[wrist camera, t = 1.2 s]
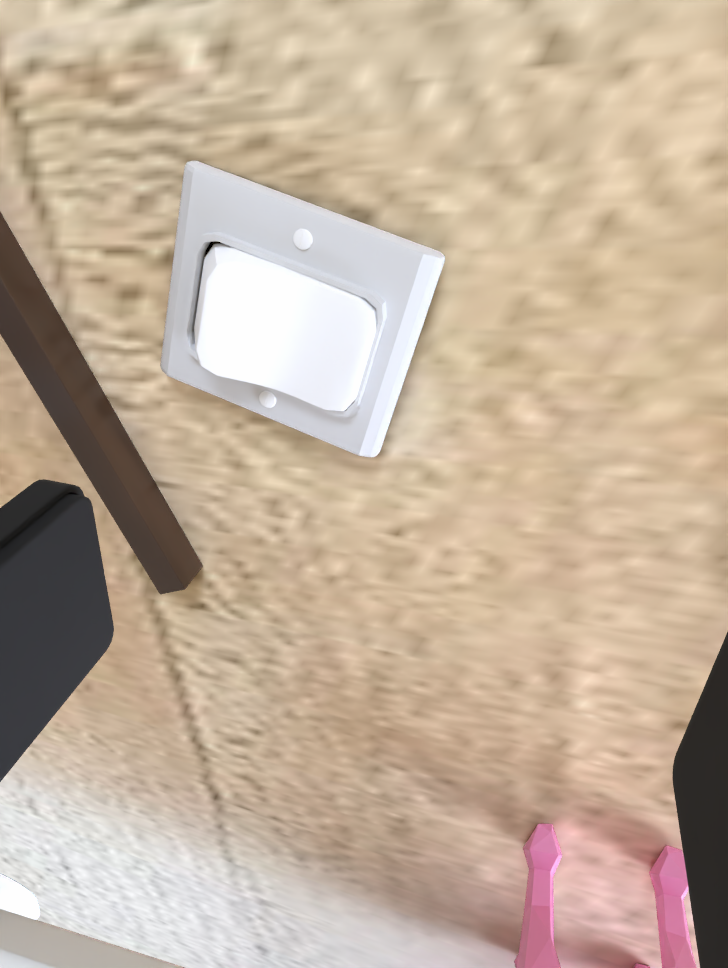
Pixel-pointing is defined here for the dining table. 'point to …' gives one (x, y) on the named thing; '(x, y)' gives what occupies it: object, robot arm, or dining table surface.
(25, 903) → the bust
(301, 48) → the dining table surface
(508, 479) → the dining table surface
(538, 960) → the cat
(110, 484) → the back rail
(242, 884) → the dining table surface
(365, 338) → the light switch
